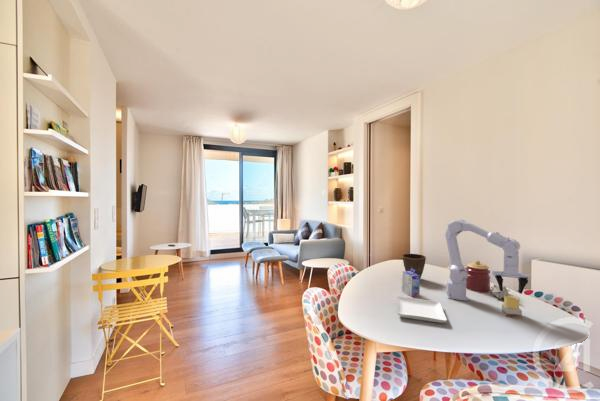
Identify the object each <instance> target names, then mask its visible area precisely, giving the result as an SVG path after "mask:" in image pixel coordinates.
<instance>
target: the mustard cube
mask: <svg viewBox="0 0 600 401" xmlns="http://www.w3.org/2000/svg"><path fill="white" fill-rule="evenodd" d="M503 300H504V301H503V304H504V305H505V306H506V307H507V308H512V309H518V310H519V308H520V299H518V297H516V296H514V295H513V296H512V295H508V296H506V295H504V298H503Z"/></svg>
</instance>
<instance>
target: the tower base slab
mask: <svg viewBox="0 0 600 401" xmlns="http://www.w3.org/2000/svg"><path fill="white" fill-rule="evenodd" d="M501 311H502V314H505V315H504V316H505V317H507V318H514V319H520V320H522V316H523V314H522V315H517V314H509V313H506V312H505V311H504V310H503V309H502V308H501Z"/></svg>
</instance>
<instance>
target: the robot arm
mask: <svg viewBox="0 0 600 401" xmlns="http://www.w3.org/2000/svg"><path fill="white" fill-rule="evenodd" d="M447 224H448V225H447V229H446V231H445V234H444V236H445V240H446V244H447V246H446V247H447V250H448V255H449V256H448V257H449V259H450V268H449V272H450V273H449V280H447V281H446V296H447V298H448V299H451V300H458V301H465V302H468V301H469V299H468V297H467V288H466V279H467V278H468V273H467V272H466V269H465V268H466V267H465V266H464V265H463V263H462V262H463V261H462V259H461V253H460V248H459V243H458V239H457V237H458V236H459V234H461V233H463V232H472V233H474V234H476V235H479V236H480V237H483V238H485V239H486V241H487V242H488V243H490V244H492V245H495V246H497V247H499V248H502V250H503V271H500V270H499V271H498V270H497V271H496V270H495V271H494V270H492V273H491V274H492V276H493V277H495V280H496V282H497V285H499V289H500V291H503V287H504V286H503V283H504V277H505V278H514V279H517V280H518V293H519V294H523V291H524V289H525V287H526V285H528V283H529V280H531V275H530V274H528V273H527V274H526V273H519V263H520V262H519V259H520V257H519V256H520V255H519V250H520V249H521V244H520V243H519V242H518V241H517V240H516V239H512V238H510V237H506V236H503V235H501V234H500V232H499V231H492V232H490V231H488V230H485V229H484V228H482V227H479V226H478V225H475V224H474V223H472V222H470V221H466V220H465V219H457V220H452V221H450V223H447Z"/></svg>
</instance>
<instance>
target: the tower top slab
mask: <svg viewBox="0 0 600 401" xmlns="http://www.w3.org/2000/svg"><path fill="white" fill-rule="evenodd" d="M502 309H503V310H504V311H505V312H506V313H509V314H517V315H522V316H523V311H522V309H521V308H520V307H519V310H518V309H512V308H507V307H506V306H505V305H504V303H501V310H502Z"/></svg>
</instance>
